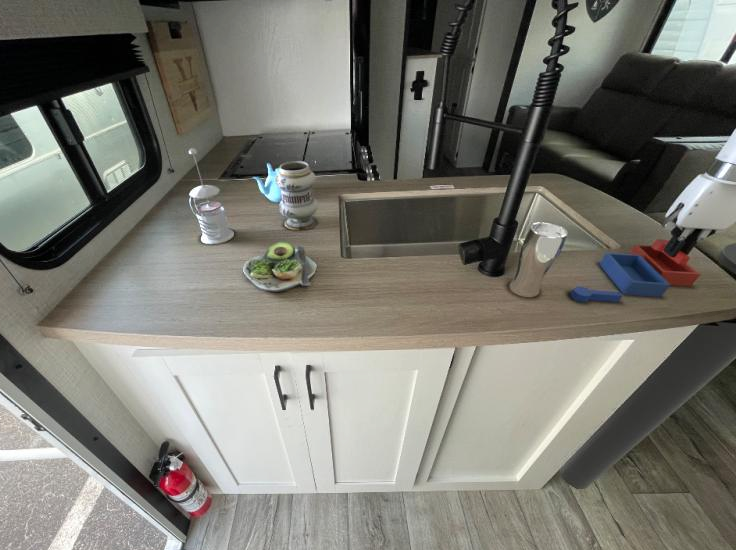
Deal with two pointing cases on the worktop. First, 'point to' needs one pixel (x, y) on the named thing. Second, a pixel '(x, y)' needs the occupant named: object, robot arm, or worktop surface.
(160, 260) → the worktop surface
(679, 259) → the red spoon
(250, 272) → the salad plate
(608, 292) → the blue spoon
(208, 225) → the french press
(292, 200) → the apothecary jar
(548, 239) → the beer glass
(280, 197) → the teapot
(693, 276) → the red bin
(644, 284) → the blue bin
